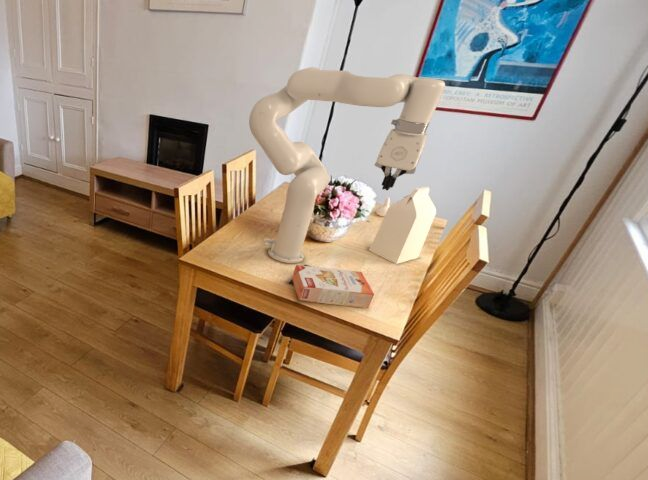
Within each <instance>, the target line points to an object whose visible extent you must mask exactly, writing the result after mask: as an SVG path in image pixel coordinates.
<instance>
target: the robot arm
mask: <svg viewBox="0 0 648 480" xmlns="http://www.w3.org/2000/svg"><path fill="white" fill-rule="evenodd" d="M445 87H446V82H445V81H444V80H442V79H437V78H432V77H417V76H414V75H413V76H412V75H409V74H405V73H396V74H393V75H391V76H388V77H375V76H361V75H355V74H353V73H352V72H350V71H348V70H335V69H334V70H332V69H331V70H330V69H327V70H326V69H320V68H319V67H315V66H314V67H313V66H312V67H306V68H302V69H299V70H296V71H295V72H294V73H292V74H291V75H290V76H289V78H288V80H287V83H286V85H285V86H284V87H283V88H281V89H280V90H279V91H278V92H274V93H271V94H268V95H265V96H264V97H261V98H260V99H259V100H258V101H257V102H256V103H255V104H254V105H253V106H252V109H251V111H250V114H249V120H248V124H249V129H250V132H251V134H252V136H253V138H254V139H255V140H256V141H257V143H258V145H259V146H260V147H261V149H262V150H263V151H264V153H265V155H266V157H267V158H268V159H269V161H270V162H271V163H272V165H273V167H274V168H275V170H276V171H277V172H278V173H279V174H280V175H283V176H289V175H292V174H294V176H295V177H293V179H291V180H290V183H289V184H288V186H287V190H286V197H285V204H284V208H283V211H282V216H281V219H280V223H279V227H278V231H277V233H276V237H275V239H270V238H268V237H265V238H264V240H263V243H264V244H263V245H264V246H266V247H269V248H268V251H267V253H268V256H269V257H270V258H272V259H273V260H275V261H277V262H281V263H285V264H298V263H301V262H303V260H304V258H305V254H304V252H303V251H302V250H303V247H304V244H305V239H306V237H307V234H308V230H309V227H310V224H311V220H312V217H313V213H314V210H315V203H316V200H317V197H318V196H319V195H320V194H321V193H323V191H324V190H326V189H327V187H328V186H329V184H330V175H329V172H328V170H327V168H326V167H325V166H324V163H322V161H321V159H320V158H319V157H318V155H317V154H316V153H315V151H314V150H313V148H312V147H311V146H310V145H308V144H307V143H305V142H303V141H294V142H293V141H292V140H291V139H290V137H289V136H288V134H287V133H286V131H285V130H284V129H283V128H282V127H280V125H279V124H278V123H277V121H278V120H280V119H282V118H285V117H287V116H288V115H290V114H291V113H292V112H294V111H295V110H297V109H298V108H300V106H302V105H303V104H305V103H306V102H307V101H322V102H332V103H333V102H334V103H339V104H344V105H350V106H358V107H368V108H369V107H371V108H389V107H393V106H395V105H397V104H400V103H404V105H403V108H402V110H401V112H400V115H399V118H397V119H392V120H391V122H390V124H391V125H393V126H394V128H392V129H390V131H389V133H388V134H387V136H386V138H385V139H384V142H383V144H382V146H381V148H380V151H379V152H378V156H377V158H376V161H375V163H374V167H376V168H379V169H381V171H382V173H383V176H384V177H383V180H382V182H381V186H382V188H381V189H382V190H385V191H389V190H390V189H392V188H393V187H394V186H395V183H396V181H397V179H398V178H399V177H401V176H403V175H413V174H415V173H416V170H417V166H418V164H419V162H420V160H421V158H422V154H423V152H424V149H425V146H426V141H427V138H428V133H426V132H427V130H428V128H429V125H430V123H431V120H432V118H433V116H434V114H435V111H436V109H437V108H438V104H439V102H440V100H441V97H442V95H443V93H444V90H445ZM393 169H395V171H394V173H393V174H392V171H393Z"/></svg>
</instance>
